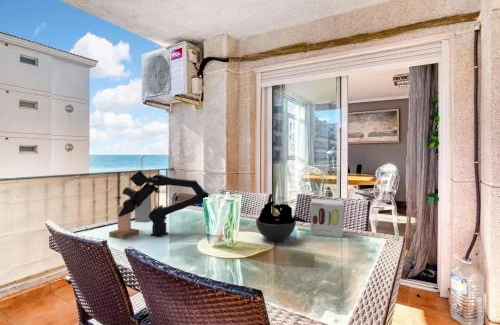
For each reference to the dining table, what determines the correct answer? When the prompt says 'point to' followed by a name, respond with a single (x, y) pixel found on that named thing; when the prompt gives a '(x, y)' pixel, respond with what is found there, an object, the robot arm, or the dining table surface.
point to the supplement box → (327, 217)
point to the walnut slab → (124, 234)
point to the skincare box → (143, 211)
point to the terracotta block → (124, 221)
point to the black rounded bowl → (276, 222)
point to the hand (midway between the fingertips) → (121, 214)
